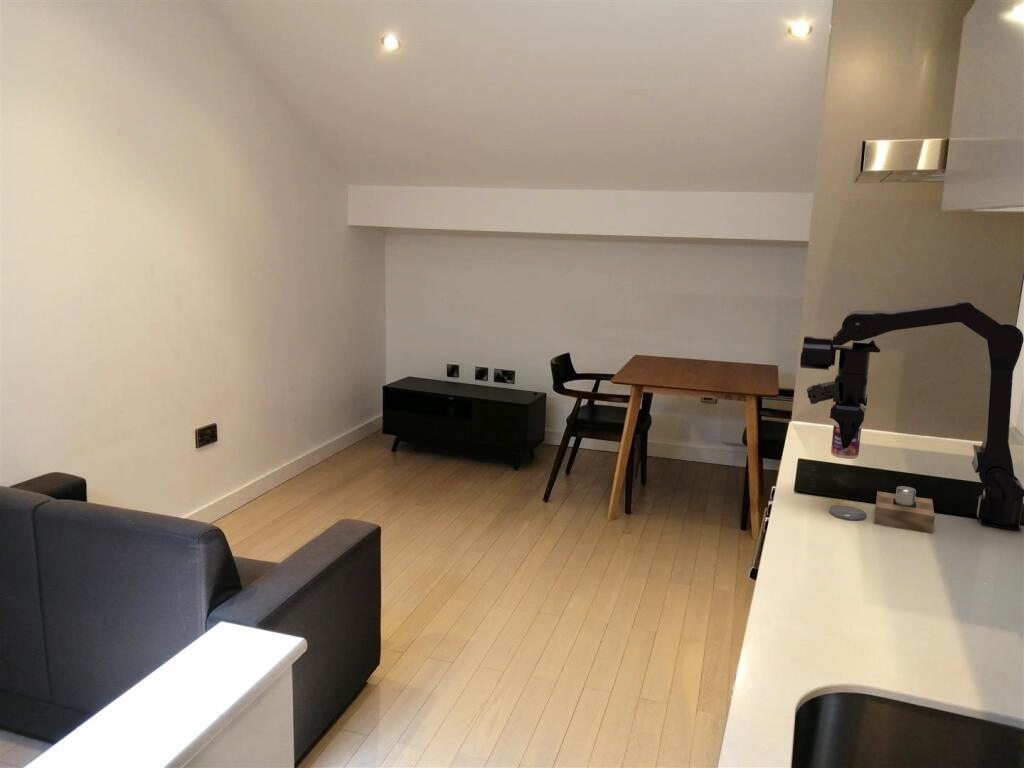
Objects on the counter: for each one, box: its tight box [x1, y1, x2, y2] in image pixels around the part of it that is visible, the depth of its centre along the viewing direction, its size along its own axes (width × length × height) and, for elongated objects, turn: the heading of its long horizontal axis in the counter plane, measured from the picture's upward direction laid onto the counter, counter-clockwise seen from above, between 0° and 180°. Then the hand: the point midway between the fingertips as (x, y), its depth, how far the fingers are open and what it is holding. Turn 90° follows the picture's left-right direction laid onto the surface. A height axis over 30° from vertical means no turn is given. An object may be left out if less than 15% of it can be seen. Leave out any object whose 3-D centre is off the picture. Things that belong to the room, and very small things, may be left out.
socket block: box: [873, 490, 935, 534], centre depth 147 cm, size 10×10×4 cm
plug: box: [895, 485, 917, 508], centre depth 146 cm, size 3×3×6 cm
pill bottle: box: [830, 420, 862, 460], centre depth 155 cm, size 5×5×10 cm
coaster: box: [828, 504, 867, 522], centre depth 150 cm, size 7×7×1 cm
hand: (845, 444), depth 156 cm, fingers closed on pill bottle, 5 cm apart
